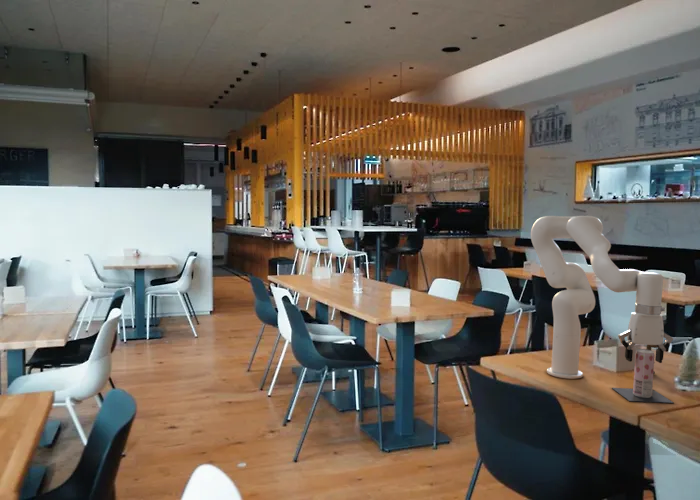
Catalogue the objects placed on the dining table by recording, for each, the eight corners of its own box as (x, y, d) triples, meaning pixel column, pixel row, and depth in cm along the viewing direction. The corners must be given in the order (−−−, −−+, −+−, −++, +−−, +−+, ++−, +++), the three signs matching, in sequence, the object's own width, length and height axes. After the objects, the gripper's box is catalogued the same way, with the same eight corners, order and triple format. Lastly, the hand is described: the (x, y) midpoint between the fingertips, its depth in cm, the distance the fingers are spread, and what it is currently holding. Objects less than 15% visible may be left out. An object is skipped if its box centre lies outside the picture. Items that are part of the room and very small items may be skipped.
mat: (611, 388, 204) (611, 387, 204) (653, 390, 204) (653, 389, 203) (629, 401, 190) (629, 400, 190) (673, 403, 190) (673, 402, 190)
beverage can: (650, 393, 198) (653, 349, 197) (653, 398, 193) (656, 353, 192) (631, 391, 200) (634, 348, 199) (634, 396, 194) (637, 351, 193)
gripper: (668, 309, 198) (664, 359, 199) (616, 306, 198) (612, 357, 200) (680, 313, 190) (676, 365, 192) (625, 310, 191) (621, 363, 192)
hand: (643, 361), depth 196 cm, fingers open, 9 cm apart
